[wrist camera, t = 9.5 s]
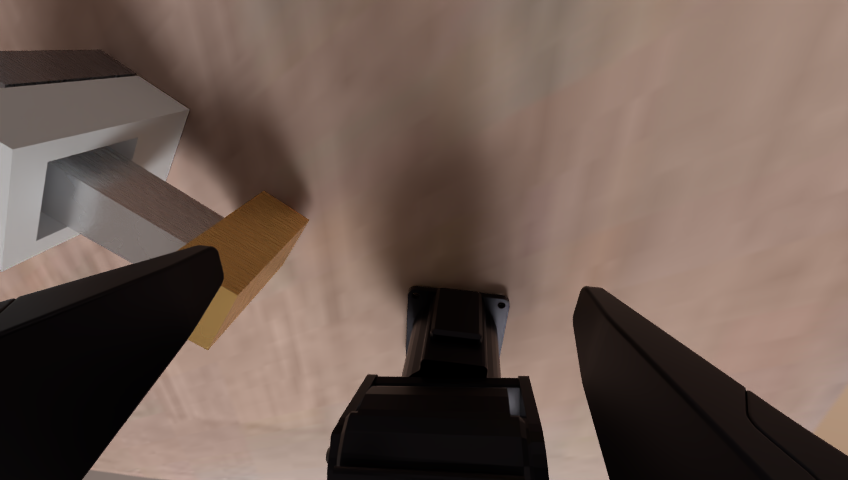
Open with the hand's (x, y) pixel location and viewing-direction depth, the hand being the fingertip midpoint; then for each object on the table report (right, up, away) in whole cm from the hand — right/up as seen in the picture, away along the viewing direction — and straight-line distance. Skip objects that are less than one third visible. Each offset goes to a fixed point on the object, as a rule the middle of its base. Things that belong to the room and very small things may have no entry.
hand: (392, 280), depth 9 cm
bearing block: (-15, +7, +13) cm, 21 cm away
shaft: (-12, +4, +13) cm, 18 cm away
